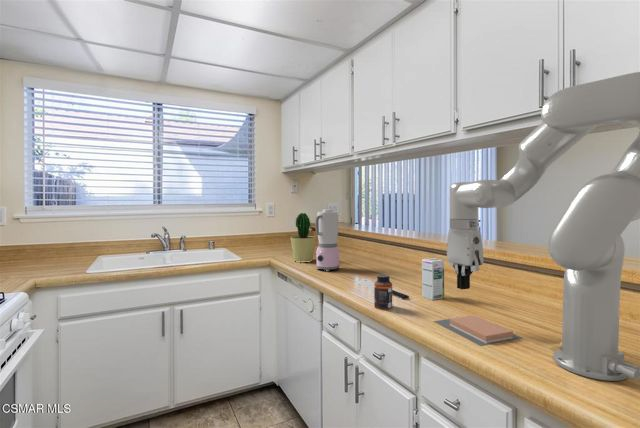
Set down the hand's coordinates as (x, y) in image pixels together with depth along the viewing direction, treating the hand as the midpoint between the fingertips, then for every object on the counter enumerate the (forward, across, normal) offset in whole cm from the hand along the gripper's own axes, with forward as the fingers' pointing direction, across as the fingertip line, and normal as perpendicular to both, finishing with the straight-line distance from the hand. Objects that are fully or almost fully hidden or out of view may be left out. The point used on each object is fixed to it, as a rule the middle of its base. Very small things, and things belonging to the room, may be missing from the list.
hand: (463, 288), depth 97 cm
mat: (+11, -4, 0) cm, 12 cm away
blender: (+10, +88, +10) cm, 90 cm away
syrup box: (+11, +26, -10) cm, 30 cm away
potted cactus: (+10, +117, +14) cm, 119 cm away
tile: (+9, 0, 0) cm, 9 cm away
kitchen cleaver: (+11, +43, +4) cm, 45 cm away
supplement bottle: (+11, +21, +14) cm, 28 cm away
